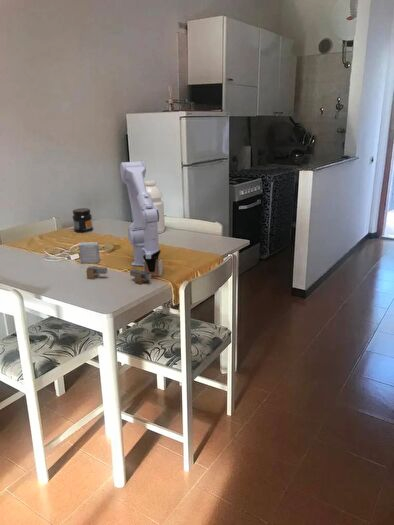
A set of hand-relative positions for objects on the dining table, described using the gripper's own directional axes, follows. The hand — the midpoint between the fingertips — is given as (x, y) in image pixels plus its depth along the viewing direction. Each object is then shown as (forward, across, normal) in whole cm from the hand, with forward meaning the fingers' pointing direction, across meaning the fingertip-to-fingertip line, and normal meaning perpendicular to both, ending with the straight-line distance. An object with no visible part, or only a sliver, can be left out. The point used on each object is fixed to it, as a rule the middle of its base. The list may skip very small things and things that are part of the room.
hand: (153, 269), depth 176 cm
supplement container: (+2, -66, -54) cm, 85 cm away
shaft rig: (+2, +7, -13) cm, 14 cm away
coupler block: (+2, 0, 0) cm, 2 cm away
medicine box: (+2, -14, -32) cm, 35 cm away
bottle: (+2, -65, -14) cm, 66 cm away
